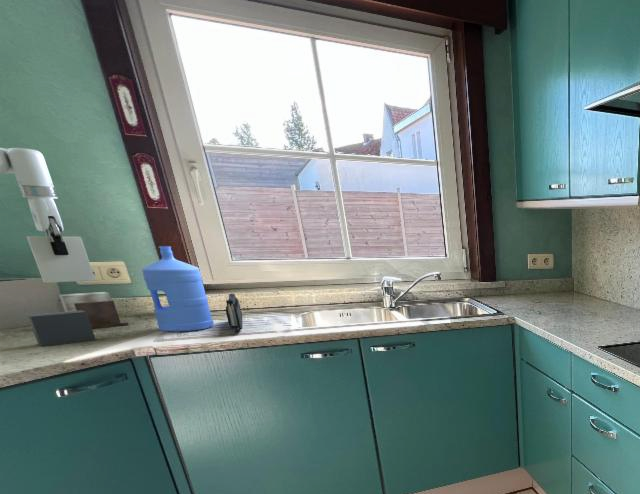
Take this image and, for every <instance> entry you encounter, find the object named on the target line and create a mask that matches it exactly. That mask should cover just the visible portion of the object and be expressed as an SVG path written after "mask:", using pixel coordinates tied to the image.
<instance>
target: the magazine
mask: <svg viewBox="0 0 640 494" xmlns="http://www.w3.org/2000/svg"><path fill="white" fill-rule="evenodd" d="M225 313H226V318H227V323H228V327H229V329H231V330H234V333H236V334H237V333H240V331H239V330H240V329H242V328H243V327H244V326H243V325H244V324H243V323H244V322H243V313H242V308H241V304H240V301H239V299H238V298H237V297H236V294H235V293H229V294H228V299H227V300H226V306H225Z"/></svg>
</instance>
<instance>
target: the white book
mask: <svg viewBox="0 0 640 494" xmlns="http://www.w3.org/2000/svg"><path fill="white" fill-rule="evenodd" d="M62 237H63V240H64V242H65V245H66V248H67V251H68V255H55V254H54V252H53V249H52V246H51V243H50V242H51V240H50V237H47V236H39V235H38V236H36V235H35V236H31V235H30V236H26V240H27V242H28V245H29V247H30V249H31V252H32V255H33V258H34V260H35V263H36V266H37V269H38V271H39V274H40V277H41V279H42V282H43V283H44V284H48V283H49V284H50V283H66V282H67V283H70V282H71V283H72V282H88V281H89V282H92V281H96V277H95V275H94V272H93V268H92V264H91V262H90V259H89V257H88V254H87V251H86V247H85V245H84V242H83V239H82V237H81V236H62Z"/></svg>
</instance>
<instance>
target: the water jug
mask: <svg viewBox="0 0 640 494" xmlns="http://www.w3.org/2000/svg"><path fill="white" fill-rule="evenodd" d="M158 248H159V250H160V251H159V252H160V255H161V259H159V260H158V261H155V262H153V263H151V264H149V265H147V266H144V267H143V268H142V269H141V272H142V277H143V280H144V282H145V285H146V288H147V290H149V293H150V296H151V300H152V303H153V306H154V309H153V311H154V315H155V318H156V321H157V327H158V329H159V330H161V331H163V332H168V331H174V332H173V333H178V332H179V333H181V332H182V333H183V332H193V331H195V332H196V331H201V330H206V329H210V328H212V327H213V326H214V325H215V324H214V319H213V317H212V313H211V309H210V305H209V299H208V297H207V294H206V290H205V286H204V283H203V276H202V273H201V272H200V269H199V267H198V266H195V265H193V264H189V263H187V262H184V261H181V260H178V259H176V258H175V257H174V253H173V251H172V246H169V245H161V246H158ZM158 292H163V293H164V294H165V298H166V300H167V304H168V305H167V306H163V305H161V301H160V297H159V294H158Z"/></svg>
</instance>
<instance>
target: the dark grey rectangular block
mask: <svg viewBox="0 0 640 494" xmlns="http://www.w3.org/2000/svg"><path fill="white" fill-rule="evenodd" d="M26 317H27V319H28V322H29V325H30V327H31V330H32V332H33V335H34V337H35V339H36V342H37V345H39V346H41V347H51V346H59V345H66V344H67V345H68V344H75V343H84V342H91V341H92V342H93V341H96V340H97V338H96V336H95V333H94V329H92V327H91V324H90V321H89V319H88V316H87V313H86V312H85V311H82V310H79V311H67V312H65V311H55V312H45V313H31V314H26Z"/></svg>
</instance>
